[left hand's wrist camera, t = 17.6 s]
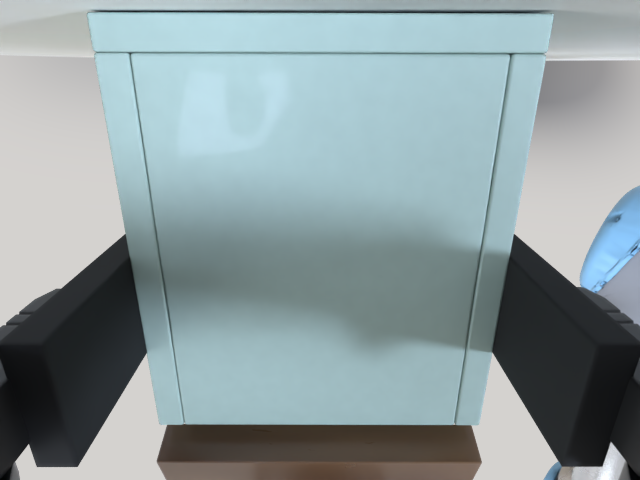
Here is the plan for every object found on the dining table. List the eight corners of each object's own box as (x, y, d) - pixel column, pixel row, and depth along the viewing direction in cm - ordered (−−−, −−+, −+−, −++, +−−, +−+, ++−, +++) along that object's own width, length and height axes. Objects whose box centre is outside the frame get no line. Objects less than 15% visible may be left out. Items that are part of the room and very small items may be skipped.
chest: (400, 51, 24) (389, 224, 28) (239, 50, 24) (250, 224, 28) (555, 12, 8) (479, 426, 12) (84, 11, 8) (158, 425, 12)
